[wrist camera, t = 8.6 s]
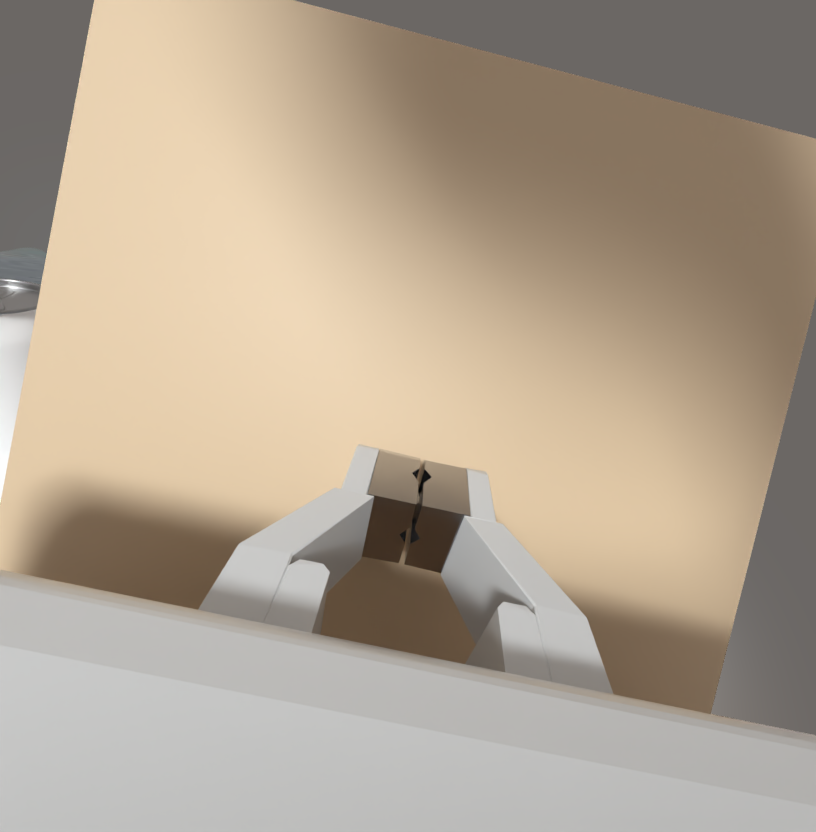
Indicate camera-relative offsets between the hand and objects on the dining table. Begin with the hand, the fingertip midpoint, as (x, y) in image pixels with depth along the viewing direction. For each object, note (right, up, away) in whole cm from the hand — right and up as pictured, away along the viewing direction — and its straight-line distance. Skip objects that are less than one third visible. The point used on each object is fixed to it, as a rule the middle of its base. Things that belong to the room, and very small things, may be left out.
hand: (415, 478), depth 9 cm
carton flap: (0, +3, 0) cm, 3 cm away
